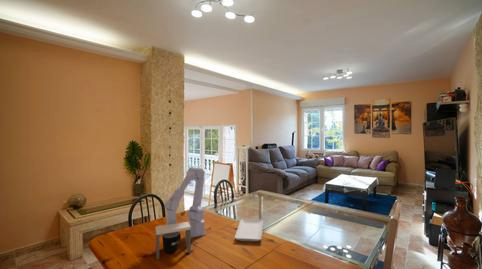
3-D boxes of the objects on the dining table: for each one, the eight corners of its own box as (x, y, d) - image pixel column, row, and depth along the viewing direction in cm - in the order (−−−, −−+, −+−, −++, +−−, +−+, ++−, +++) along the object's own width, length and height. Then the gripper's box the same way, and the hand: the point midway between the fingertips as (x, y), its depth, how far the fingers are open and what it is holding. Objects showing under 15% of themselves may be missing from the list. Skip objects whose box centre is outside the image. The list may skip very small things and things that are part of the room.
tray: (233, 243, 138) (233, 237, 138) (240, 222, 169) (240, 218, 169) (261, 244, 136) (261, 239, 136) (263, 224, 167) (263, 219, 167)
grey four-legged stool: (188, 246, 134) (188, 221, 134) (190, 252, 127) (190, 226, 127) (155, 252, 127) (155, 226, 127) (156, 259, 120) (156, 232, 120)
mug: (170, 257, 122) (170, 239, 121) (158, 252, 126) (158, 234, 126) (185, 246, 133) (186, 230, 132) (174, 242, 137) (174, 226, 136)
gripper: (182, 216, 141) (182, 237, 141) (158, 219, 135) (158, 242, 135) (184, 220, 135) (184, 242, 135) (158, 223, 129) (158, 247, 129)
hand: (171, 242), depth 135 cm, fingers closed, pressing on mug
